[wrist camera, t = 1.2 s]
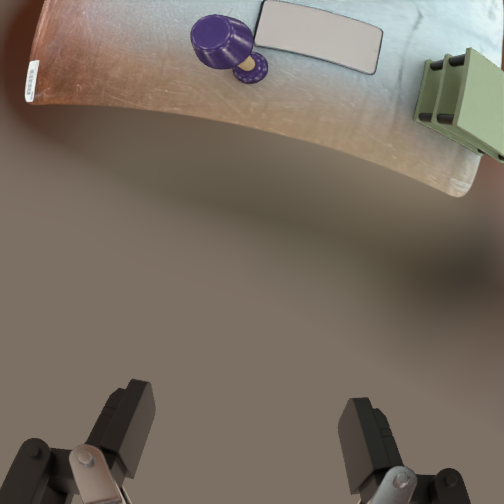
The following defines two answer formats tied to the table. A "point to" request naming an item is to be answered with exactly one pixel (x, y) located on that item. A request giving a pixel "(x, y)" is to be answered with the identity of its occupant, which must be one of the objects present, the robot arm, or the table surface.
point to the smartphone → (318, 35)
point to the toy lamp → (228, 47)
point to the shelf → (464, 102)
